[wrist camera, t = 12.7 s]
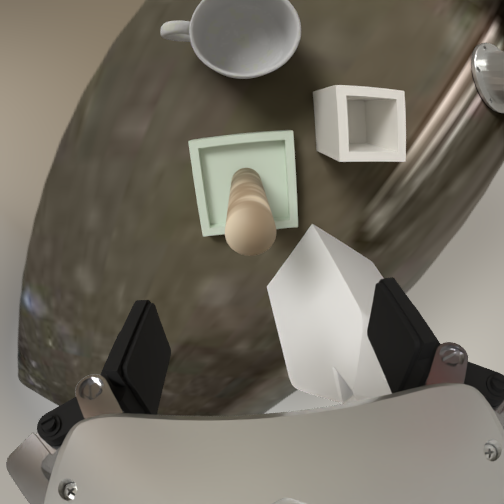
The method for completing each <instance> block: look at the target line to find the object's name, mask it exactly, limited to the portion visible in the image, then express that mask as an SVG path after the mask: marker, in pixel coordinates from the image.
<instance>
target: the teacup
mask: <svg viewBox="0 0 504 504" xmlns="http://www.w3.org/2000/svg"><path fill="white" fill-rule="evenodd" d="M161 36H162V37H163V38H165V39H168V40H174V41H185V42H191V45H192V47H193V50H194V52H195V53H196V55H197V56H198V58H199V59H200V60H201V61H202V62H203V63H204V64H205V65H206V66H208V67H209V68H211V69H213V70H214V71H216V72H218V73H220V74H222V75H224V76H227V77H231V78H237V79H251V78H256V77H260V76H263V75H265V74H268V73H270V72H273V71H274V70H276V69H278V68H280V67H281V66H282V65H284V64H285V63H286V62H287V61H288V60H289V59H290V58H291V57H292V55H293V54H294V52H295V51H296V49H297V47H298V44H299V41H300V38H301V23H300V19H299V16H298V14H297V12H296V10H295V8H294V7H293V5H292V4H291V3H290V2H289V1H288V0H202V1H201V3H200V4H199V5H198V7H197V8H196V10H195V11H194V14H193V16H192V19H191V22H189V21H170V22H166V23H165V24H163V25H162V27H161Z"/></svg>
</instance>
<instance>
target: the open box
mask: <svg viewBox="0 0 504 504" xmlns="http://www.w3.org/2000/svg"><path fill="white" fill-rule="evenodd" d="M313 102H314V116H315V131H316V150H317V151H318V152H320V153H322V154H325V155H327V156H329V157H331V158H333V159H335V160H337V161H339V162H365V161H388V162H406V117H405V95H404V91H400V90H392V89H384V88H374V87H362V86H347V85H334V86H330V87H327V88H324V89H320V90H317V91H314V92H313Z"/></svg>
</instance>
